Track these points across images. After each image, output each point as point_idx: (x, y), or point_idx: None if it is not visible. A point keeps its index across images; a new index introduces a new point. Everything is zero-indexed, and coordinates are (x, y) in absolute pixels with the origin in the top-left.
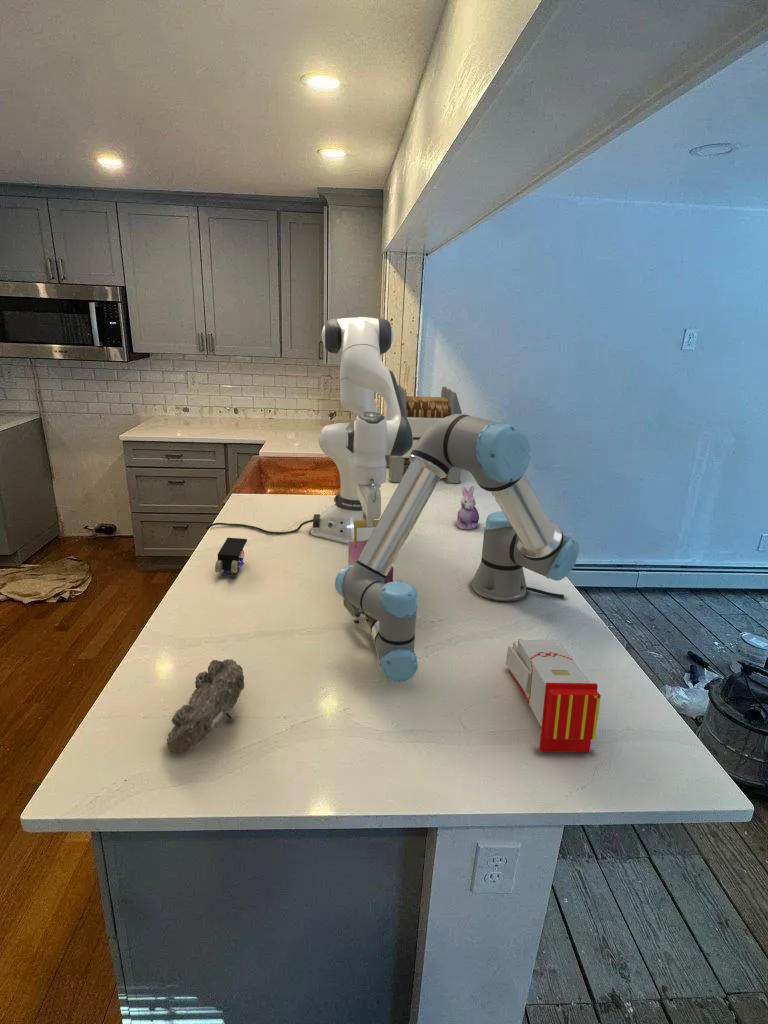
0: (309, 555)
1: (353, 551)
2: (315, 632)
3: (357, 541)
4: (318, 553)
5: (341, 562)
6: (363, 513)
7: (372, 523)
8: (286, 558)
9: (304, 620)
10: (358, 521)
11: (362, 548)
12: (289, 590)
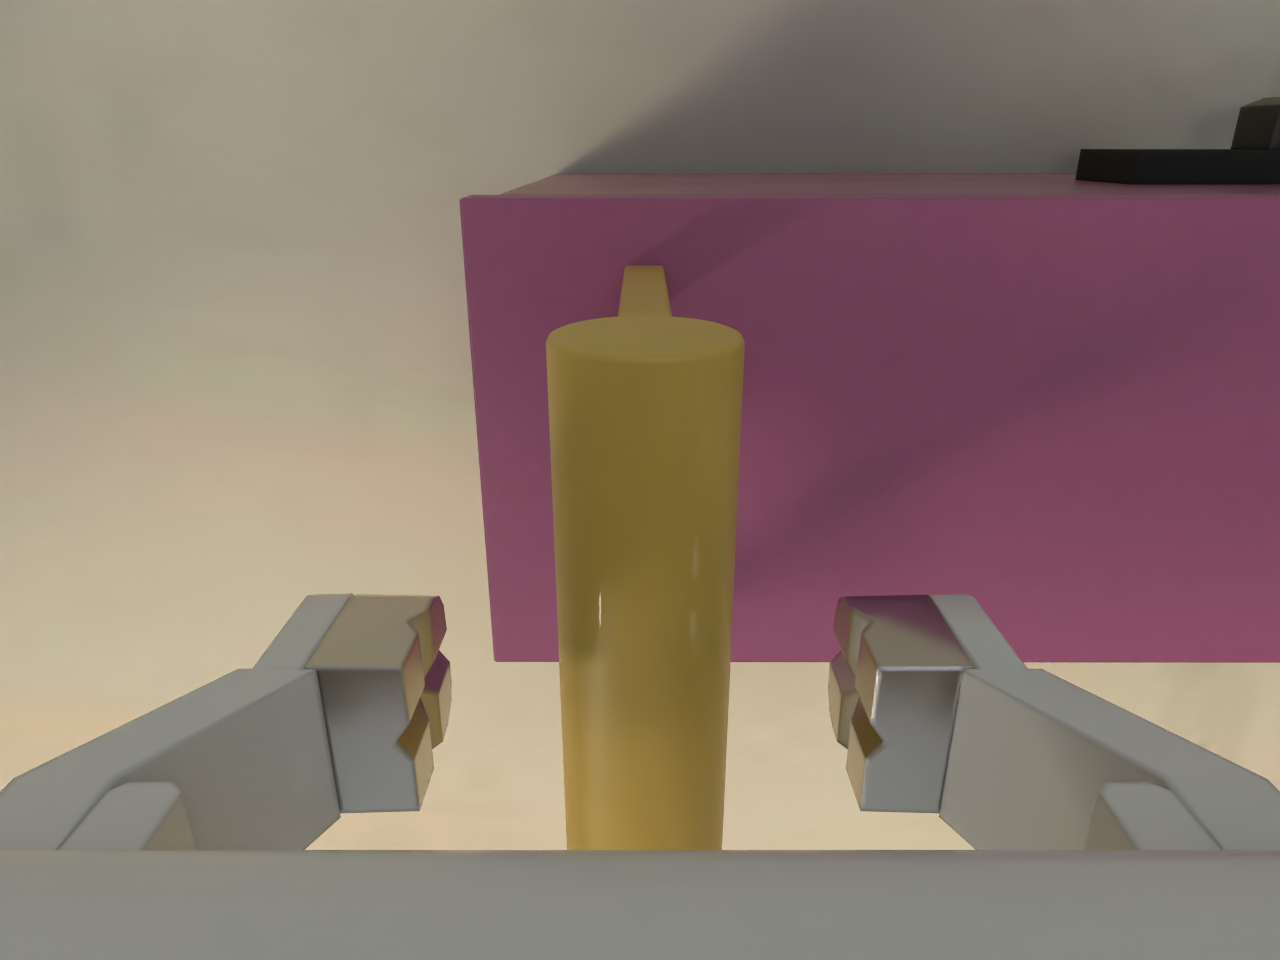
0: (81, 696)
1: (819, 640)
2: (1227, 717)
3: (489, 554)
4: (28, 632)
5: (187, 470)
6: (372, 804)
7: (1008, 653)
8: None
9: None
10: None
11: (737, 522)
12: None
